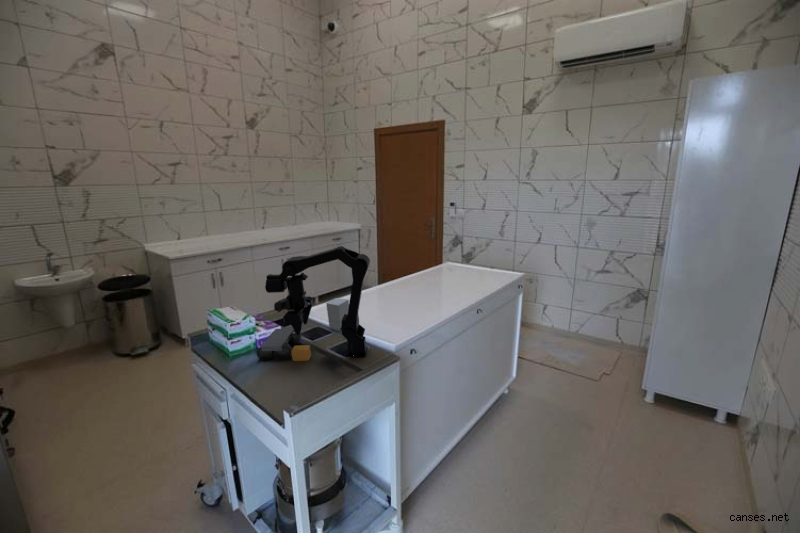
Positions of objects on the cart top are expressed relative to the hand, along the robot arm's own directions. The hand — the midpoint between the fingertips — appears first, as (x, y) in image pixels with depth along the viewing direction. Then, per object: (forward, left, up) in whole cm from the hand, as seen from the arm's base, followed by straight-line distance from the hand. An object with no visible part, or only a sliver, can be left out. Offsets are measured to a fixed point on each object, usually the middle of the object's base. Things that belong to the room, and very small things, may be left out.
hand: (302, 329), depth 140 cm
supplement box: (-9, -24, -11) cm, 28 cm away
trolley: (+11, -3, -11) cm, 16 cm away
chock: (+1, +2, -11) cm, 11 cm away
